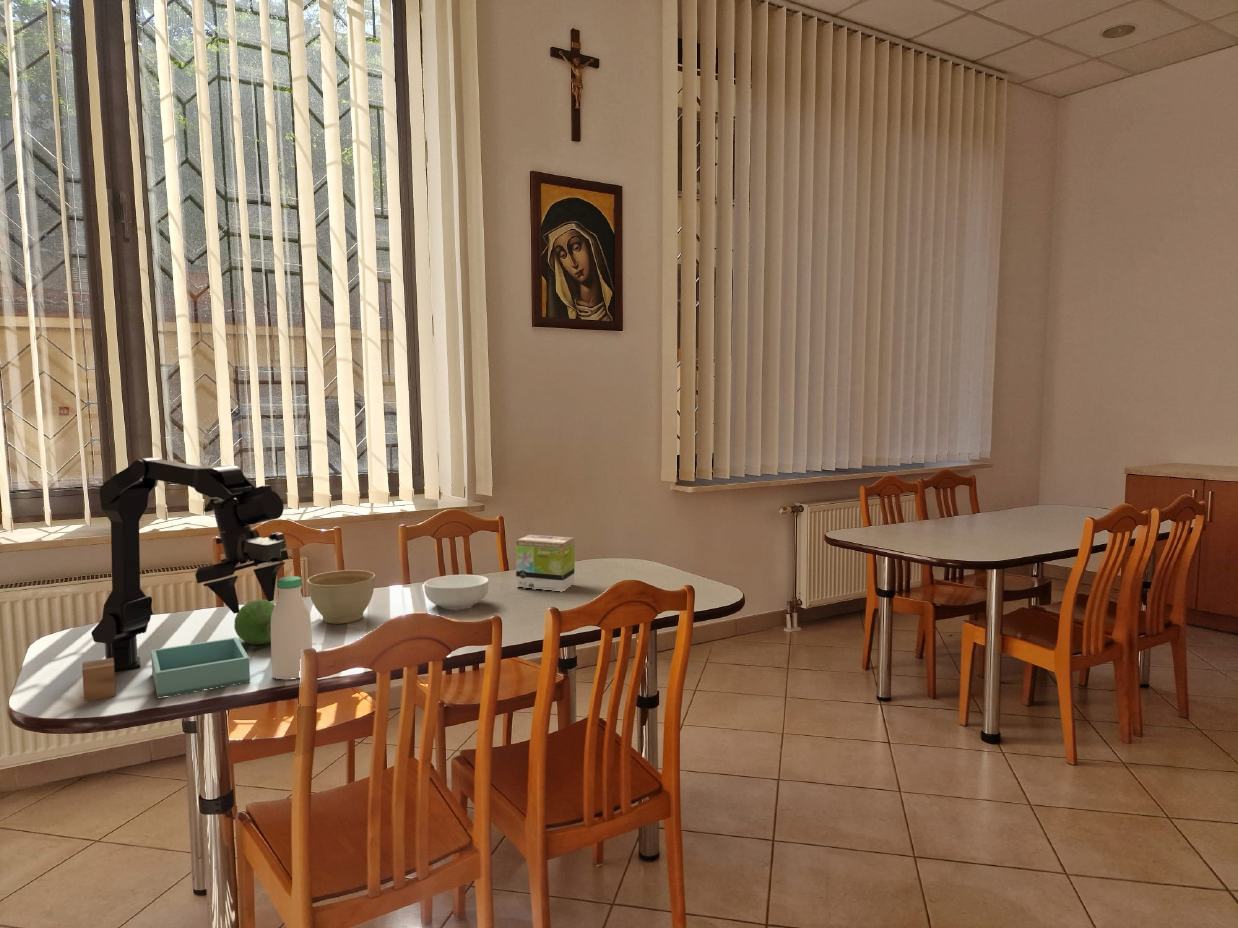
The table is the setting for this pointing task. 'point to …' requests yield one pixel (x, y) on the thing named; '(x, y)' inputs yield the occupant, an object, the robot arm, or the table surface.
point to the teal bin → (199, 666)
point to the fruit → (255, 622)
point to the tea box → (545, 562)
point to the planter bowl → (341, 594)
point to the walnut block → (98, 679)
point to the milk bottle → (289, 629)
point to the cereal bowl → (456, 590)
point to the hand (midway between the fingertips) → (254, 606)
